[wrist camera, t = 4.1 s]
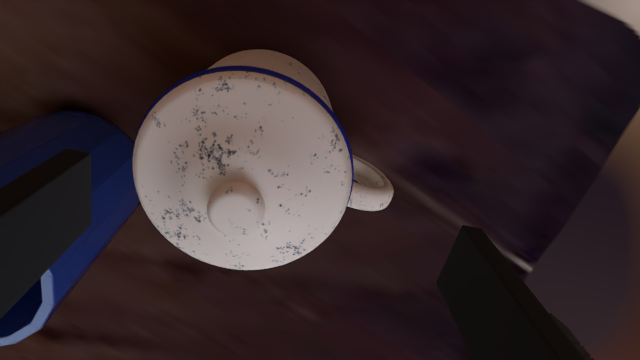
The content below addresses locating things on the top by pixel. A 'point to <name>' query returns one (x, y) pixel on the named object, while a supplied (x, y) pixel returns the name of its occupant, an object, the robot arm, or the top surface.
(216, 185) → the teacup with lid
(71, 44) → the top surface
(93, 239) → the pen pot
